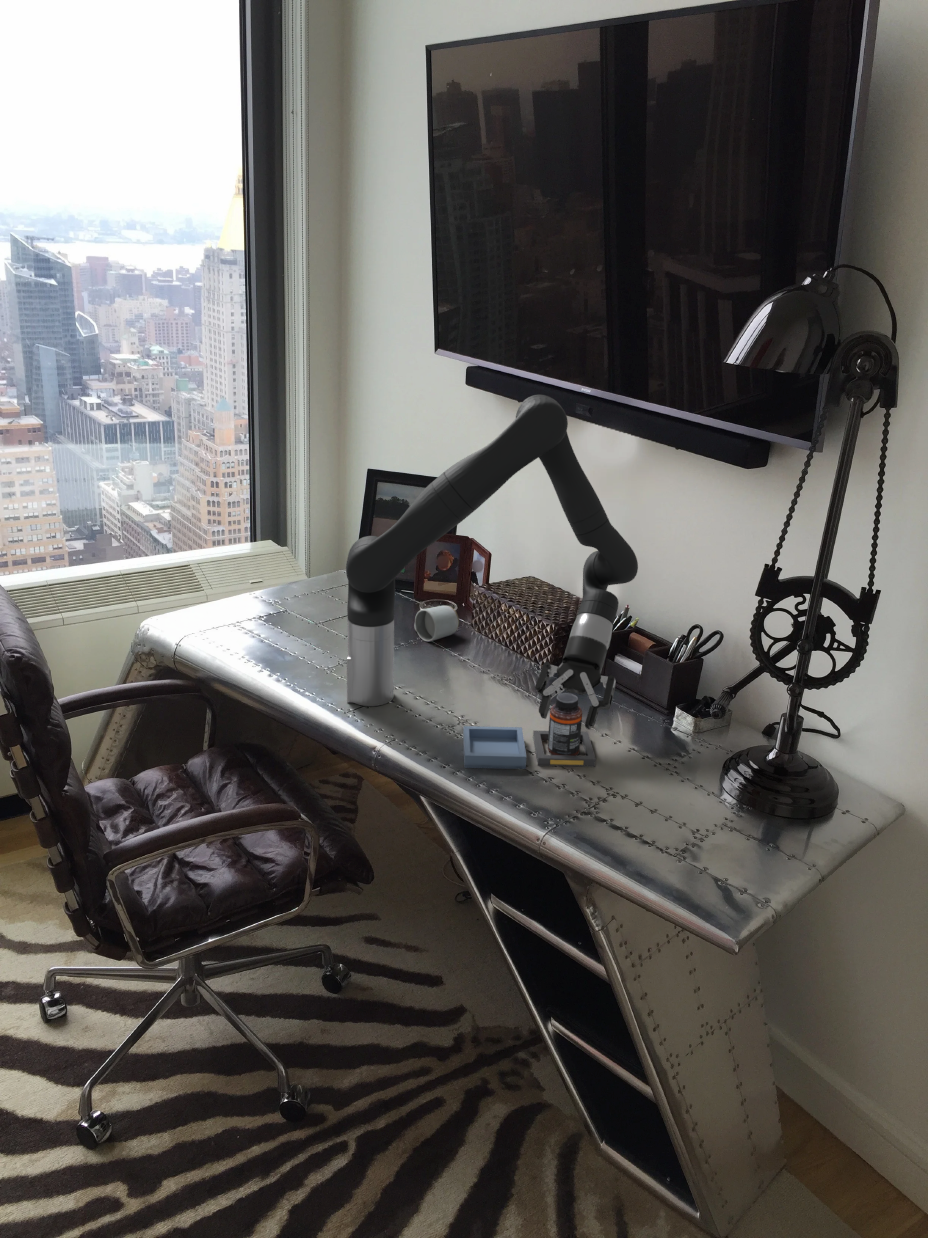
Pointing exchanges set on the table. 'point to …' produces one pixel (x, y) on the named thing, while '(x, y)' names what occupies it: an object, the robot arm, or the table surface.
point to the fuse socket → (563, 759)
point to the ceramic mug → (436, 622)
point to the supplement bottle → (565, 726)
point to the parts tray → (494, 747)
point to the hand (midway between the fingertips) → (565, 722)
